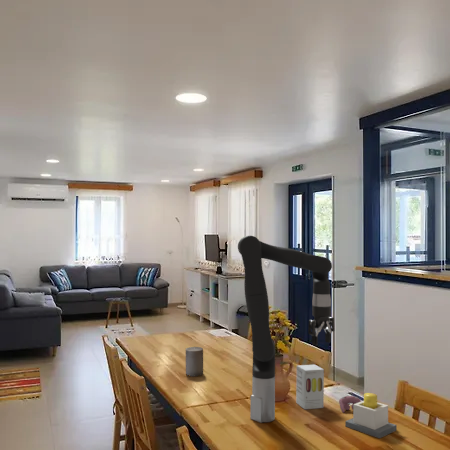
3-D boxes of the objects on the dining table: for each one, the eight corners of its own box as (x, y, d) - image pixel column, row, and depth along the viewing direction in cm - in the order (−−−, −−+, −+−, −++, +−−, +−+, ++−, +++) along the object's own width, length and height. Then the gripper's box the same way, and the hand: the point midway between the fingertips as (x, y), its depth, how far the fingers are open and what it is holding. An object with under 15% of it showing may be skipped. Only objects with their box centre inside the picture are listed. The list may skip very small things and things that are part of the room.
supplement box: (304, 409, 207) (304, 370, 207) (295, 402, 216) (295, 365, 216) (324, 407, 209) (324, 369, 210) (315, 401, 218) (315, 363, 219)
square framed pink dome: (379, 438, 177) (379, 413, 178) (345, 426, 189) (345, 403, 189) (396, 430, 185) (396, 406, 185) (362, 419, 197) (362, 396, 197)
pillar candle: (204, 371, 265) (204, 344, 266) (201, 376, 255) (201, 348, 256) (187, 371, 266) (187, 344, 267) (183, 376, 256) (183, 348, 257)
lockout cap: (372, 413, 184) (372, 397, 184) (361, 410, 187) (361, 394, 188) (379, 410, 187) (379, 395, 187) (368, 407, 191) (368, 392, 191)
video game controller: (361, 413, 208) (359, 396, 211) (365, 412, 204) (362, 394, 207) (339, 413, 207) (337, 396, 210) (342, 412, 203) (340, 395, 206)
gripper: (317, 307, 193) (317, 347, 192) (339, 304, 202) (339, 342, 202) (303, 305, 199) (303, 344, 198) (324, 302, 208) (324, 340, 207)
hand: (321, 343), depth 200 cm, fingers open, 8 cm apart
